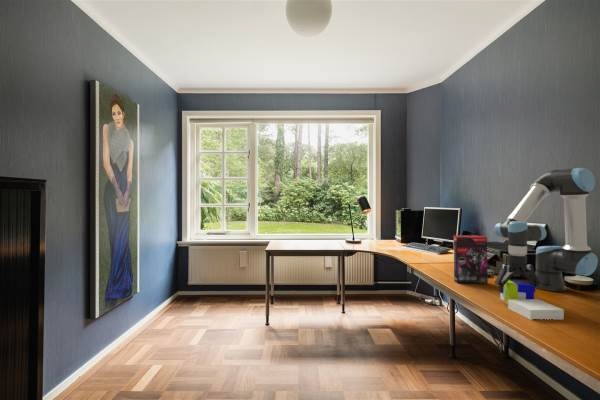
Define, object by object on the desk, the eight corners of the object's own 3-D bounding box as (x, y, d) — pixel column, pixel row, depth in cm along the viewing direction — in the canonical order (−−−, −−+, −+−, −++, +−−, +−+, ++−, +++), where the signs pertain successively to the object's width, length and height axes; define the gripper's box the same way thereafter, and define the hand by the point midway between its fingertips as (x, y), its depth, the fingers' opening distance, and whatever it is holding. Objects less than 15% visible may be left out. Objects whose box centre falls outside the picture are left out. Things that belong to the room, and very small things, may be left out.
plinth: (538, 308, 153) (538, 299, 153) (563, 319, 139) (563, 309, 139) (508, 308, 152) (508, 299, 152) (530, 319, 138) (530, 310, 138)
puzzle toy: (533, 307, 154) (534, 285, 154) (509, 306, 156) (509, 284, 156) (524, 301, 163) (524, 280, 163) (501, 299, 165) (501, 279, 165)
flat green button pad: (465, 270, 234) (465, 263, 234) (495, 274, 222) (495, 267, 222) (458, 274, 220) (458, 267, 220) (490, 279, 209) (490, 271, 208)
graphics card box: (456, 283, 196) (456, 236, 196) (452, 280, 203) (453, 235, 203) (488, 284, 194) (488, 236, 194) (483, 281, 201) (483, 235, 201)
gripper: (537, 253, 164) (536, 297, 164) (486, 253, 163) (486, 297, 163) (549, 255, 156) (548, 301, 156) (496, 255, 155) (495, 302, 155)
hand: (516, 299), depth 160 cm, fingers open, 13 cm apart
